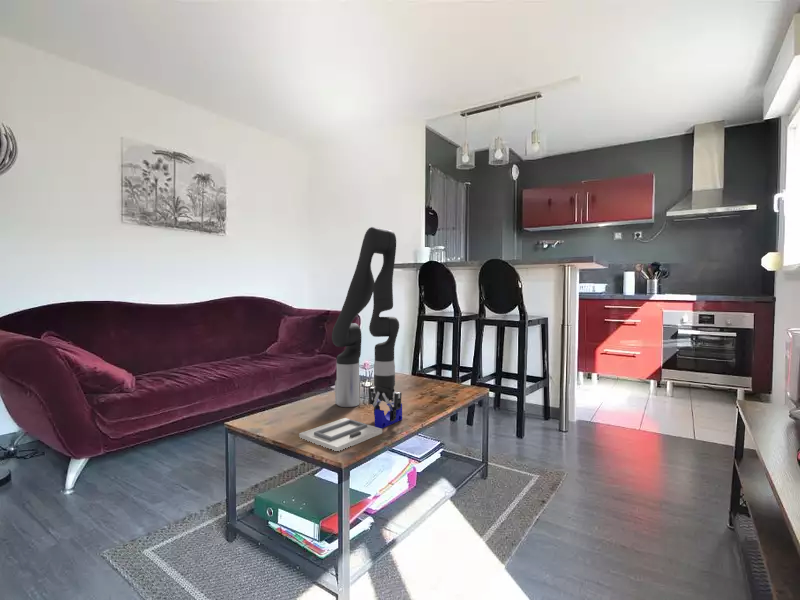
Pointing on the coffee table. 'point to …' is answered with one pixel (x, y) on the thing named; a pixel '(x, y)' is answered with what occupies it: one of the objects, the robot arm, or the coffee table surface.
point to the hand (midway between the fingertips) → (384, 418)
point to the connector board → (340, 434)
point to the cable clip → (386, 418)
